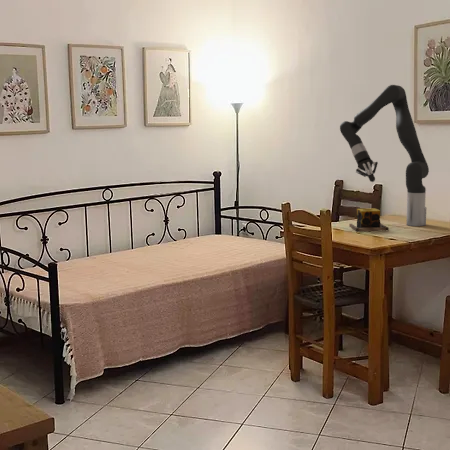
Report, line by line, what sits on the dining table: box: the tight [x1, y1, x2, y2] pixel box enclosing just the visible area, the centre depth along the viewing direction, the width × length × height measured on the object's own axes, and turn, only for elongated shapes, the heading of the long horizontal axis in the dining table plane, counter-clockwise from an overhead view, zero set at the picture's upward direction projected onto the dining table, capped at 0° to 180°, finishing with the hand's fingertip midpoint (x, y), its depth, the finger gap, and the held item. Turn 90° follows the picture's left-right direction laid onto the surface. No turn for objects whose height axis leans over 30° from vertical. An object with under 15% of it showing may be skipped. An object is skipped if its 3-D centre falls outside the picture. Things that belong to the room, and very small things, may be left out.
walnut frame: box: [348, 223, 389, 232], centre depth 358 cm, size 16×15×2 cm
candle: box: [356, 207, 382, 228], centre depth 357 cm, size 10×10×10 cm
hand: (373, 181), depth 373 cm, fingers closed
